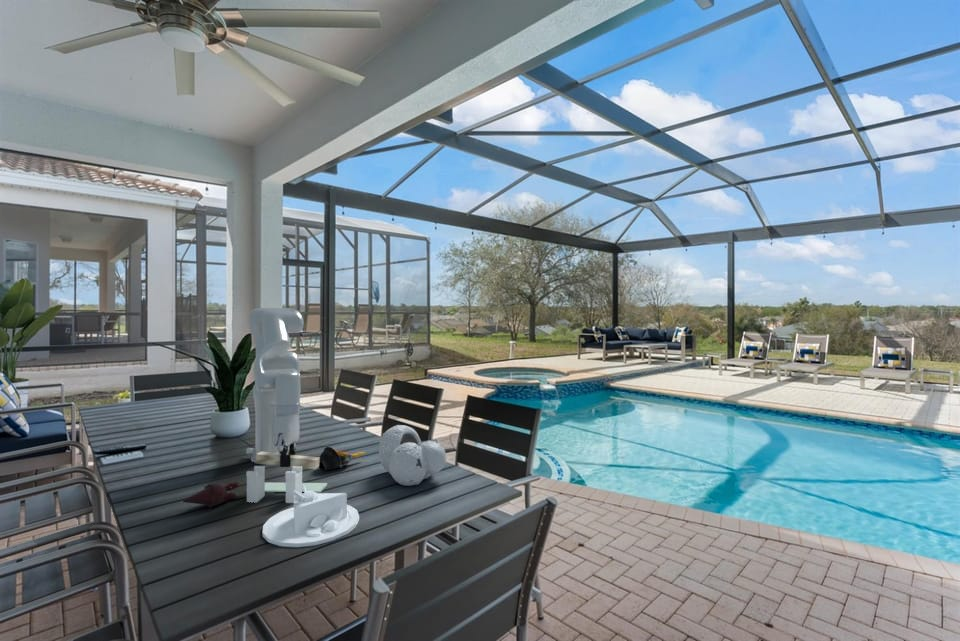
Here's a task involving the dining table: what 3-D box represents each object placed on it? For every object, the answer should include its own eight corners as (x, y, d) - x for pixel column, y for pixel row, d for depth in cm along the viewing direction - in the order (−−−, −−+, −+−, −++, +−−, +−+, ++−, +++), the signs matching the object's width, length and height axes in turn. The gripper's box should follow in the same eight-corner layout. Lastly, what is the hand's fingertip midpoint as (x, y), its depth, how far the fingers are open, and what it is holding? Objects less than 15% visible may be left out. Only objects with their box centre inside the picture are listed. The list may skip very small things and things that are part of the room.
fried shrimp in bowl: (308, 458, 168) (344, 432, 183) (323, 483, 169) (358, 455, 184) (321, 453, 163) (357, 427, 177) (336, 479, 164) (371, 451, 178)
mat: (246, 492, 148) (246, 490, 148) (257, 484, 155) (257, 482, 155) (319, 493, 147) (319, 491, 147) (327, 484, 154) (327, 483, 154)
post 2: (285, 503, 139) (285, 472, 139) (293, 496, 145) (292, 466, 144) (295, 503, 139) (295, 472, 139) (302, 496, 145) (302, 466, 144)
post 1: (246, 502, 140) (246, 471, 139) (255, 495, 145) (255, 466, 145) (256, 502, 139) (256, 472, 139) (264, 495, 145) (264, 466, 145)
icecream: (189, 496, 129) (244, 485, 140) (181, 483, 133) (234, 474, 145) (185, 518, 129) (239, 506, 141) (176, 505, 134) (230, 494, 146)
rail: (255, 463, 149) (256, 454, 149) (259, 460, 152) (260, 451, 152) (315, 469, 149) (316, 460, 149) (319, 466, 152) (319, 457, 152)
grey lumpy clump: (399, 477, 142) (411, 410, 153) (360, 484, 159) (374, 423, 170) (450, 491, 153) (458, 428, 164) (408, 497, 169) (419, 439, 181)
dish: (260, 556, 109) (260, 510, 109) (264, 514, 132) (264, 475, 132) (365, 537, 119) (365, 494, 119) (351, 501, 142) (351, 464, 142)
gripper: (287, 404, 159) (287, 457, 159) (264, 414, 143) (264, 473, 143) (308, 404, 159) (308, 457, 159) (287, 414, 142) (288, 473, 142)
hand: (287, 464), depth 151 cm, fingers closed on rail, 3 cm apart
